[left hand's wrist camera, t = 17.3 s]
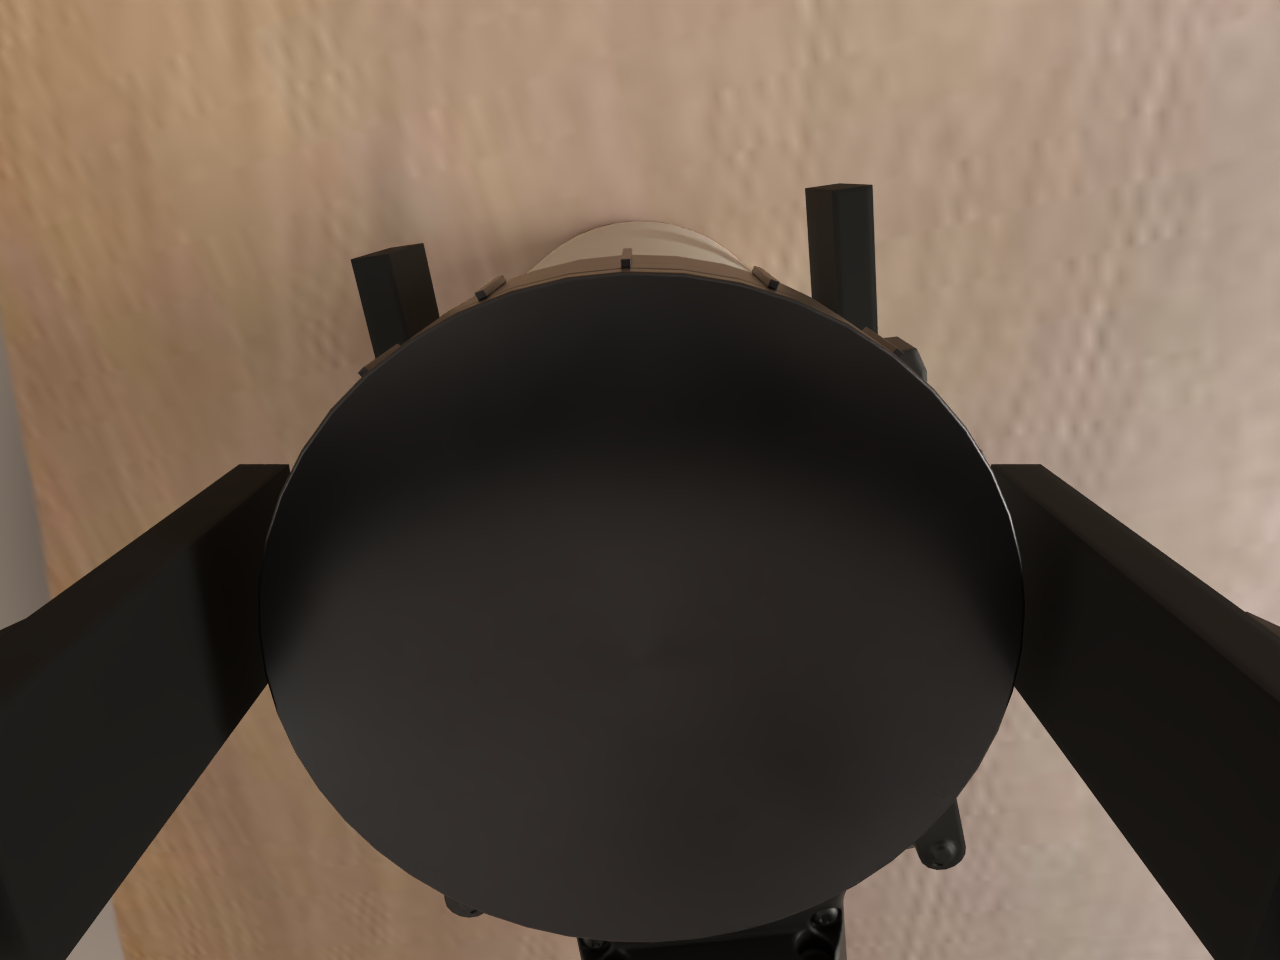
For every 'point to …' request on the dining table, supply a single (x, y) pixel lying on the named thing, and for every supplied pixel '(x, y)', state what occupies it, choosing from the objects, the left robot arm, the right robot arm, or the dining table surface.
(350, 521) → the lid
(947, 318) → the dining table surface
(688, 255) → the jar
